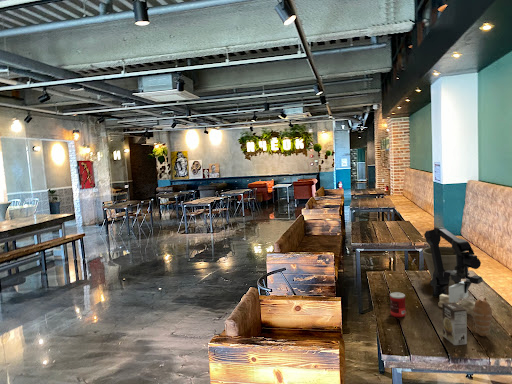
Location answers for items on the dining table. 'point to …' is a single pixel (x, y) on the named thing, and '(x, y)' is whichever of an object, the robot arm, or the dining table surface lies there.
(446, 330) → the coffee box
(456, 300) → the slotted bar
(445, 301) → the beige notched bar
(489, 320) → the cat ice cream
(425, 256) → the plant pot
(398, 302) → the canned food
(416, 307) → the dining table surface
